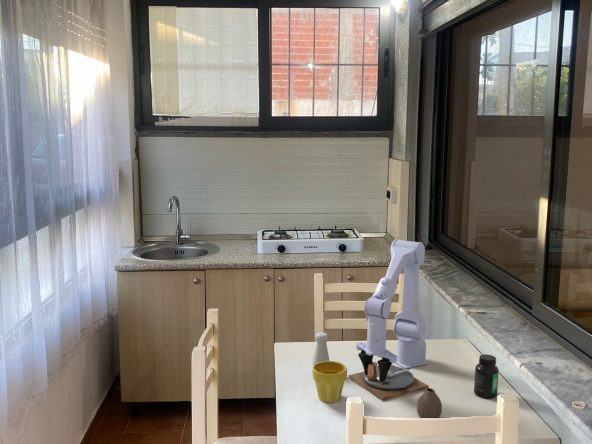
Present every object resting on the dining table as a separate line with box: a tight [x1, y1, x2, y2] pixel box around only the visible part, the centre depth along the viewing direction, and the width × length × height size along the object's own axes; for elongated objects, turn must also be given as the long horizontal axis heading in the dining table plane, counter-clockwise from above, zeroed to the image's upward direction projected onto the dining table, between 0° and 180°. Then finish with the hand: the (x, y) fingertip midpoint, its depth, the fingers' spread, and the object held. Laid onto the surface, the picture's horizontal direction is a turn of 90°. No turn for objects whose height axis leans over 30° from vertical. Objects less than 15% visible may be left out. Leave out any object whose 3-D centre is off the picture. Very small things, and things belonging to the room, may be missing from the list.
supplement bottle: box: [473, 354, 500, 400], centre depth 183 cm, size 7×7×12 cm
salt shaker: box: [312, 331, 330, 367], centre depth 198 cm, size 6×6×13 cm
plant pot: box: [312, 360, 348, 404], centre depth 179 cm, size 10×10×10 cm
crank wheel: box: [362, 361, 414, 390], centre depth 190 cm, size 16×16×7 cm
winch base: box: [348, 364, 430, 402], centre depth 191 cm, size 18×18×1 cm
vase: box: [416, 387, 443, 419], centre depth 167 cm, size 7×7×9 cm
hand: (375, 377), depth 186 cm, fingers open, 5 cm apart
